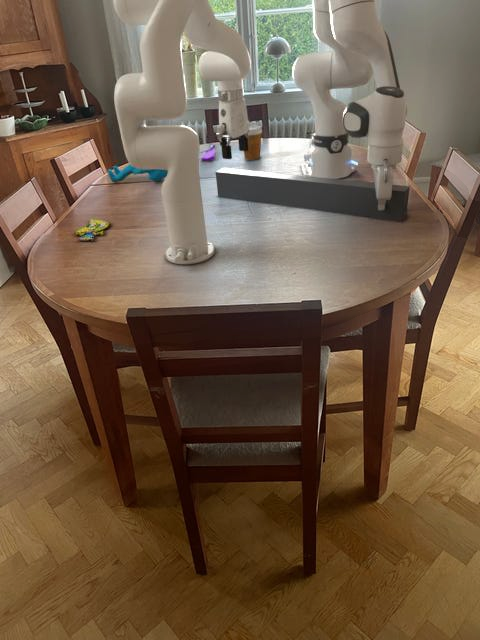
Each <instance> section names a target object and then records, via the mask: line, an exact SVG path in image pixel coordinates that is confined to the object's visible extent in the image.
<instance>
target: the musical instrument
mask: <svg viewBox="0 0 480 640" xmlns="http://www.w3.org/2000/svg"><path fill="white" fill-rule="evenodd" d="M215 148H216V145H215V144H211V145H210V146H209V147H208V149H207V150H204V151H202V152H200V154H202V153H203V155H202V156H200V157H199V160H201V161H207V162H210V161H212V160H215V159H216V149H215Z"/></svg>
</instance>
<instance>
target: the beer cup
mask: <svg viewBox="0 0 480 640" xmlns="http://www.w3.org/2000/svg"><path fill="white" fill-rule="evenodd" d="M262 133H263V129H262V126H261V125H259V124H249V132H248V151H243V155H244V159H245V160H248V161H252V160H258V159H260V158H261V147H262V146H261V145H262Z"/></svg>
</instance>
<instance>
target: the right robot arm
mask: <svg viewBox="0 0 480 640" xmlns="http://www.w3.org/2000/svg"><path fill="white" fill-rule="evenodd" d="M312 17H313V19H312V21H313V33H314V36H315V37H316V39H317V40H318V41H319V42H320V43H322V44H324V45H326V46H328V47H330V48H331V49H332V50H327V51H313V52H308V53H305V54H302V55H299V56H298V57H297V58H296V60H295V61H294V63H293V66H292V79H293V81H294V83H295V85H296V87H297V88H298V89H300V90H301V91H302V92H304V94H305V95H306V96H307V97H308V99H309V101H310V103H311V106H312V108H313V118H314V133H313V132H312V131H310V130H307V132H306V135H308V134H309V135H311V143H310V146H311V147H310V148H309V150H308V151H307V154H304V156H303V161H304V162H303V163H301V170H302V174H303V176H310V177H321V178H331V179H343V178H347V177H348V176H350V175H351V174H352V173H355V172H356V167H354V166H353V165H355V166H358V165H359V162H357V161H355V160H353V153H352V152H353V151H352V147H351V146H350V145H349V140H350V139H349V138H350V137H351V138H355V139H360V138H361V139H362V138H367V139H368V143H367V158H366V162H367V163H368V164H370V165H371V169H372V177H373V183H375V189H376V196H377V200H378V210H384V209H385V203H386V200H390V199H391V195H392V185H393V180H394V169H396V167H397V165H398V164H400V163H401V162H402V158H403V157H402V156H403V148H404V138H403V134H404V133H403V132H404V130H405V126H406V120H407V119H406V118H407V114H408V106H407V96H406V93H405V92H404V90H402V89H401V86H400V82H399V77H398V72H397V71H398V70H397V67H396V62H395V57H394V53H393V49H392V45H391V41H390V37H389V35H388V33H387V32H386V30H385V29H383V27H382V25H381V23H380V20H379V16H378V14H377V8H376V2H375V0H312ZM372 76H373V77H374V83H375V87H376V88H375V89H374V90H373V92H372V93H370V94H369V95H367V96H365V97H361V98H360V99H356V100H353V101H351V102H349V103H348V104H347V105H346V104H345V103H344V102H342V100H339V99H337V98H335V97H334V96H332V93H331V90H337V89H341V90H342V89H355V88H358V87H361V86H365V85H367V84H368V83H369V81H370V80H371V78H372Z"/></svg>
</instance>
